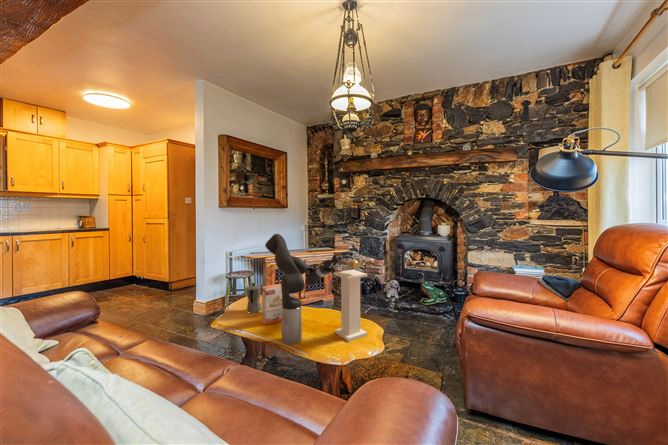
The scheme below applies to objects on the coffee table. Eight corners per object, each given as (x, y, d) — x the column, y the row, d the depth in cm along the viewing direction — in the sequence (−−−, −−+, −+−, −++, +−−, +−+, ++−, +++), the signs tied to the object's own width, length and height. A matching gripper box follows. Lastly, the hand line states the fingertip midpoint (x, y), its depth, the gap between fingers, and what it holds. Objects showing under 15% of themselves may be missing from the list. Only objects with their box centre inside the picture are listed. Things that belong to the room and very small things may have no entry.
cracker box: (266, 325, 161) (265, 289, 159) (262, 322, 165) (261, 286, 164) (288, 319, 169) (288, 284, 167) (284, 316, 174) (283, 282, 172)
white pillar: (348, 341, 141) (348, 277, 139) (334, 332, 151) (334, 272, 149) (367, 335, 148) (367, 274, 146) (353, 327, 158) (352, 269, 156)
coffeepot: (248, 307, 188) (247, 280, 187) (263, 307, 189) (262, 280, 188) (243, 317, 173) (242, 287, 172) (259, 316, 174) (258, 287, 173)
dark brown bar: (353, 268, 141) (353, 262, 141) (330, 261, 158) (330, 256, 158) (361, 267, 144) (361, 261, 144) (338, 260, 161) (338, 255, 161)
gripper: (312, 264, 166) (326, 252, 153) (332, 261, 174) (347, 250, 161) (316, 276, 164) (330, 266, 150) (336, 273, 171) (351, 263, 158)
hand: (339, 258), depth 156 cm, fingers closed on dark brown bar, 2 cm apart
